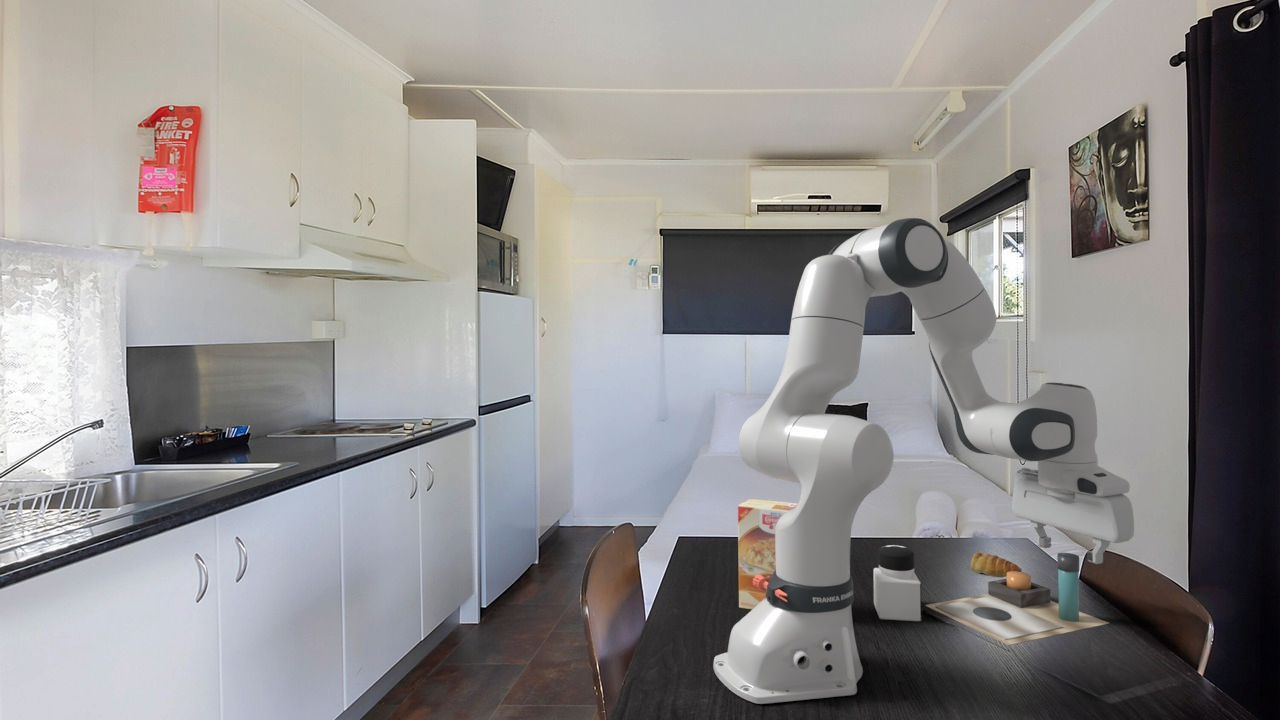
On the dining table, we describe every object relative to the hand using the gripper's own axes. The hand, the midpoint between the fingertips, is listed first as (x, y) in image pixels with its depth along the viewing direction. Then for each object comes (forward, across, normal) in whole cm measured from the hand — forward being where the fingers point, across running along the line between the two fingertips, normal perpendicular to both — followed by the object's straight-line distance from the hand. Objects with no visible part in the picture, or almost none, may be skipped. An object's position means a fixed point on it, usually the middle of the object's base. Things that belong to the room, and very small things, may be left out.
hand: (1068, 554), depth 117 cm
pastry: (+13, -25, +10) cm, 30 cm away
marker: (+11, 0, -1) cm, 11 cm away
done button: (+10, -10, -1) cm, 14 cm away
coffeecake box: (+12, -25, -42) cm, 51 cm away
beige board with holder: (+12, -5, -8) cm, 15 cm away
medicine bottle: (+12, -15, -24) cm, 31 cm away
